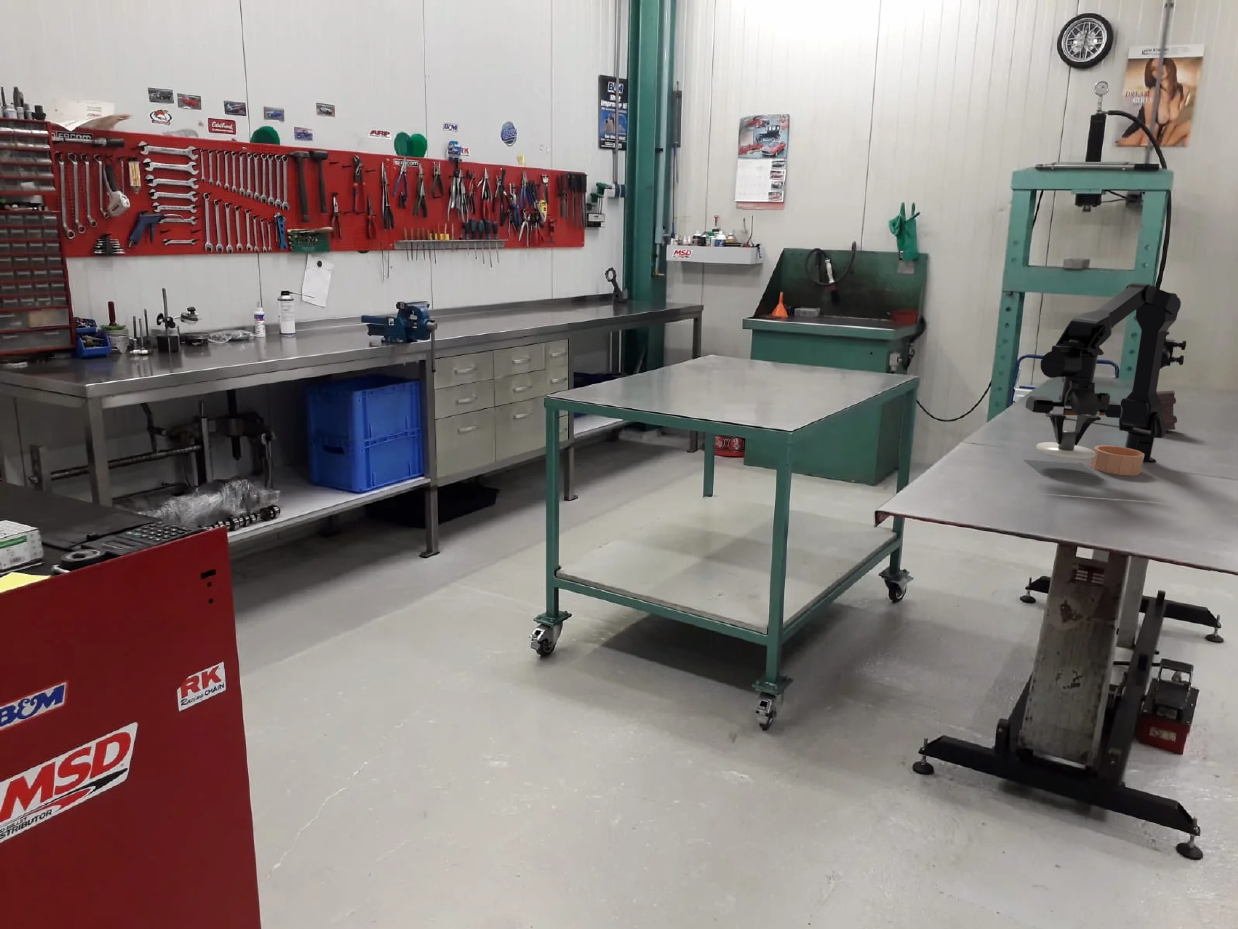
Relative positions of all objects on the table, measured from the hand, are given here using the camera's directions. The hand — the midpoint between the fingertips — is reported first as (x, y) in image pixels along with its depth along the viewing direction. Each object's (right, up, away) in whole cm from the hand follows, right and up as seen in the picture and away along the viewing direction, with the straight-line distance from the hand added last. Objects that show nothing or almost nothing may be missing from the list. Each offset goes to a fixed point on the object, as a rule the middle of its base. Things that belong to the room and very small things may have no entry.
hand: (1066, 444), depth 203 cm
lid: (0, -2, 0) cm, 2 cm away
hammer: (+38, +7, +55) cm, 67 cm away
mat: (0, -6, +2) cm, 6 cm away
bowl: (+13, -6, +4) cm, 15 cm away
